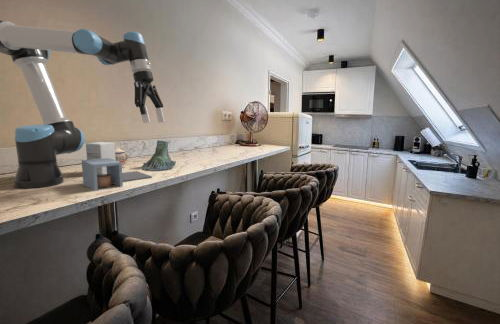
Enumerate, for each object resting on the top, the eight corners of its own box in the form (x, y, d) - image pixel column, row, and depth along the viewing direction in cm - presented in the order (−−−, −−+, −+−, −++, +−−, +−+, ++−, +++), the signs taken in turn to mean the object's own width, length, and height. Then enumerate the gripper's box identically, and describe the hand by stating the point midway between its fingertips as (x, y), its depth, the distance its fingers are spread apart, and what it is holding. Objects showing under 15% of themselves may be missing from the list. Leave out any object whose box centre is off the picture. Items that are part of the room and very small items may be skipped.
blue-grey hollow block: (83, 184, 101) (81, 160, 100) (109, 180, 109) (108, 157, 107) (94, 191, 92) (93, 165, 91) (122, 186, 100) (121, 162, 98)
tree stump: (132, 170, 133) (135, 137, 135) (155, 172, 152) (158, 143, 154) (161, 171, 128) (163, 137, 130) (181, 173, 147) (184, 144, 149)
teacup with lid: (114, 169, 132) (113, 147, 130) (103, 167, 135) (102, 146, 134) (133, 166, 142) (132, 146, 140) (122, 164, 146) (122, 144, 144)
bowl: (91, 184, 100) (90, 175, 100) (108, 182, 105) (108, 173, 105) (96, 188, 96) (95, 178, 95) (114, 185, 101) (114, 175, 100)
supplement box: (102, 170, 128) (101, 141, 126) (116, 171, 126) (115, 142, 124) (87, 173, 120) (84, 143, 117) (102, 175, 117) (100, 144, 115)
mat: (107, 176, 116) (106, 174, 116) (136, 172, 127) (136, 171, 127) (120, 182, 106) (120, 180, 106) (151, 177, 116) (151, 176, 116)
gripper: (133, 63, 91) (148, 120, 94) (163, 75, 116) (174, 120, 119) (115, 68, 92) (130, 124, 95) (148, 79, 117) (159, 123, 120)
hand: (154, 122), depth 107 cm, fingers open, 13 cm apart
